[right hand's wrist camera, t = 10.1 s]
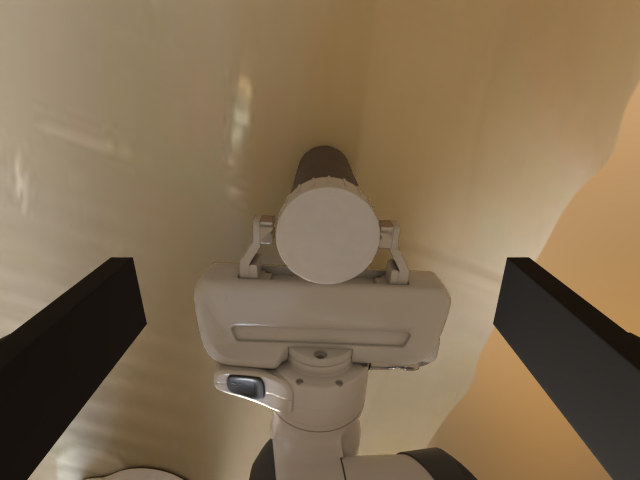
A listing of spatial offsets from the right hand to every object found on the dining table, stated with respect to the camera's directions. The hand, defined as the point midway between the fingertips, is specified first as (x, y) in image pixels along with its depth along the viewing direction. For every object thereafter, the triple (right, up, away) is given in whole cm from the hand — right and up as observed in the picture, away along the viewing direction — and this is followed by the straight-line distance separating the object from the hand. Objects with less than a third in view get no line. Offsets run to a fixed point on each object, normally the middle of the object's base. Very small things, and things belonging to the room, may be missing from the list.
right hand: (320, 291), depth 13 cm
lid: (0, +2, +5) cm, 5 cm away
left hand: (0, +3, +14) cm, 15 cm away
